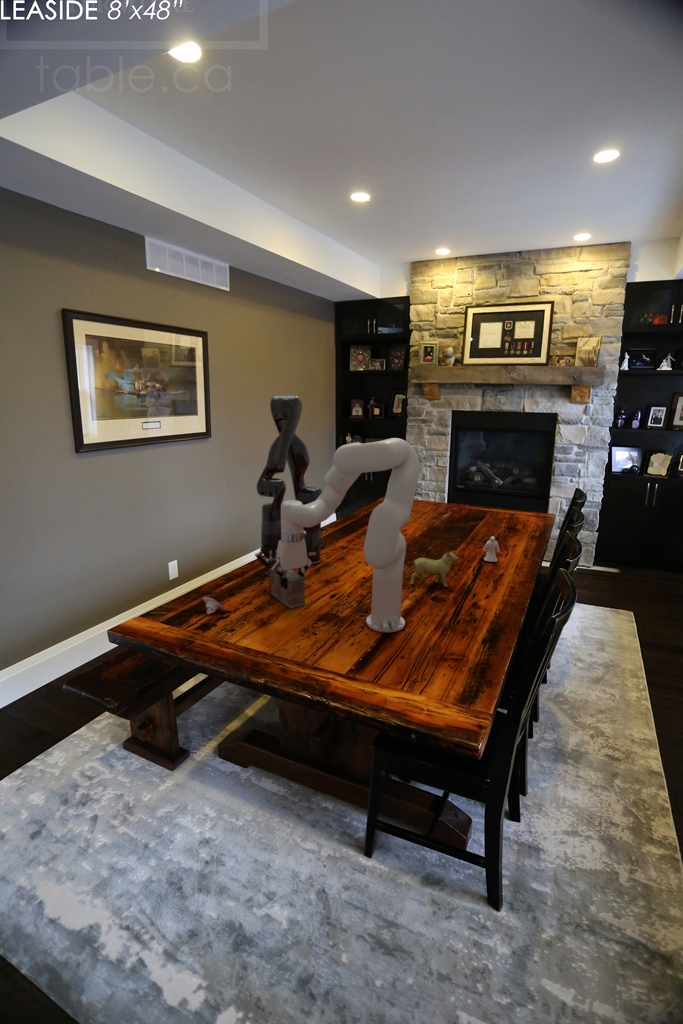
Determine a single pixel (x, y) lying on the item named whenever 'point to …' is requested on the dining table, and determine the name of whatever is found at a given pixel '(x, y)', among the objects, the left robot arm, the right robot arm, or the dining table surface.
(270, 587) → the drawer
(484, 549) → the figurine
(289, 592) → the cabinet
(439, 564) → the toy
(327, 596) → the dining table surface
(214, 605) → the seashell
